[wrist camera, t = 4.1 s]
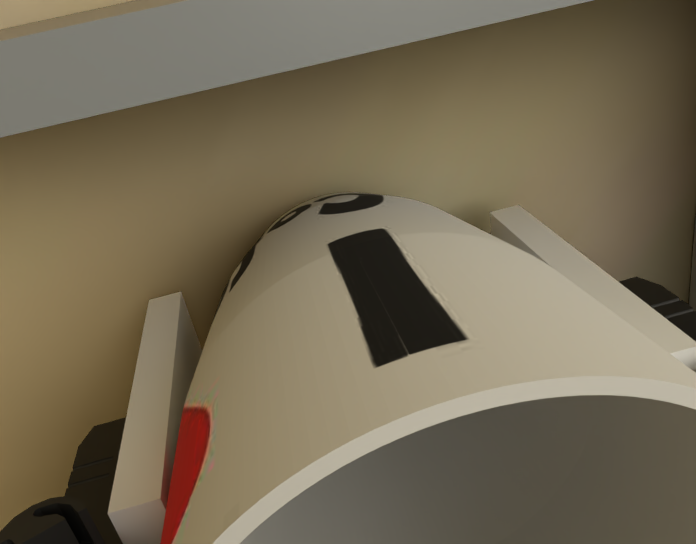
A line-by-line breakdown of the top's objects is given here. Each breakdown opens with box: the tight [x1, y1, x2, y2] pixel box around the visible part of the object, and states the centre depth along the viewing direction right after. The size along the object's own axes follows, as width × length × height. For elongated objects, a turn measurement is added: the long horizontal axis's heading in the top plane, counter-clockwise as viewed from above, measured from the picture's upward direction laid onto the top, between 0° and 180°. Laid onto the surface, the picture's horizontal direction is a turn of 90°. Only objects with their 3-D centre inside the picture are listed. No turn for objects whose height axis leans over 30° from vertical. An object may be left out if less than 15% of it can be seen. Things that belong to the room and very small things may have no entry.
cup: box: [160, 192, 696, 544], centre depth 12 cm, size 8×8×10 cm
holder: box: [0, 0, 696, 311], centre depth 14 cm, size 14×20×5 cm
